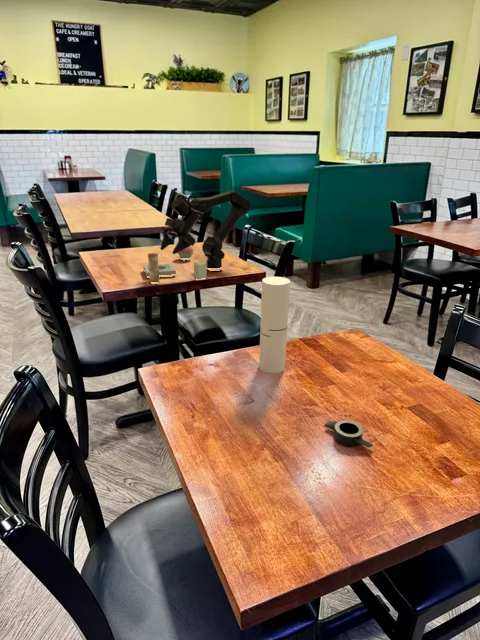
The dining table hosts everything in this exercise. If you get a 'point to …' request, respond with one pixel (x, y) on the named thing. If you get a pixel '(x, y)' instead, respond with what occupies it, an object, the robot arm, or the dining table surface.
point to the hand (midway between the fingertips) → (167, 251)
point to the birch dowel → (153, 267)
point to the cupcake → (186, 253)
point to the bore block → (162, 269)
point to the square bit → (200, 270)
